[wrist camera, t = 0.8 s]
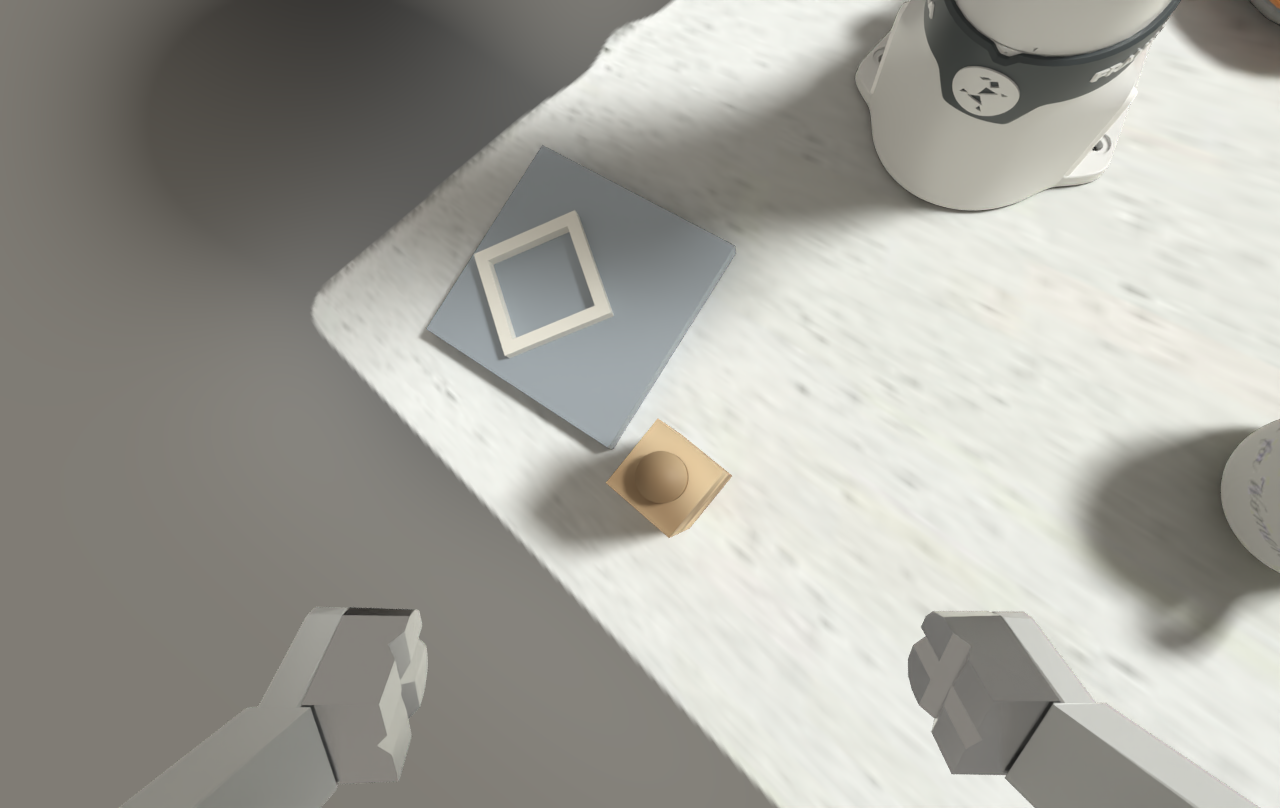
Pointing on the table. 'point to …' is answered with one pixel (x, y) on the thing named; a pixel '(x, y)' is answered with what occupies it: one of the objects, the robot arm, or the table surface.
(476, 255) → the socket frame
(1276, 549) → the teacup
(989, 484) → the table surface
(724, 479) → the oak pillar
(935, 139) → the robot arm
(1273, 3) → the pie
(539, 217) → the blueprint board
